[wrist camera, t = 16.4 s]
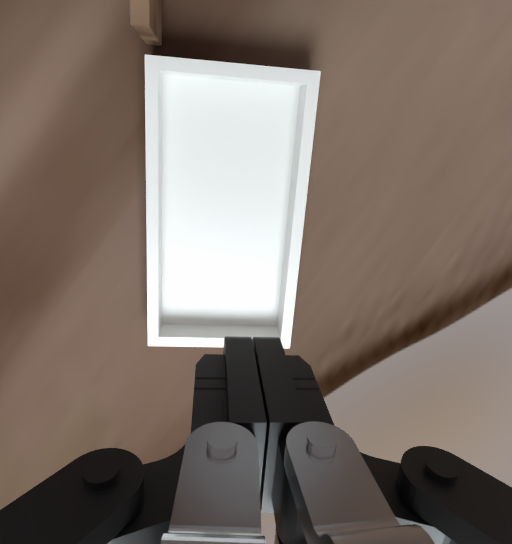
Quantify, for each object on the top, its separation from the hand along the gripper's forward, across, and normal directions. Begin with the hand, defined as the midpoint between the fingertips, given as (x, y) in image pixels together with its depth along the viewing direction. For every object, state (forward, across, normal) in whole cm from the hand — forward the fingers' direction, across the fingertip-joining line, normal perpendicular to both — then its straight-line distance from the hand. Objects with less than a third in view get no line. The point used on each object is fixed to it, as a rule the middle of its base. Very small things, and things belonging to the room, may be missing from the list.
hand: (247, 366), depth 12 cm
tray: (+22, 0, 0) cm, 22 cm away
